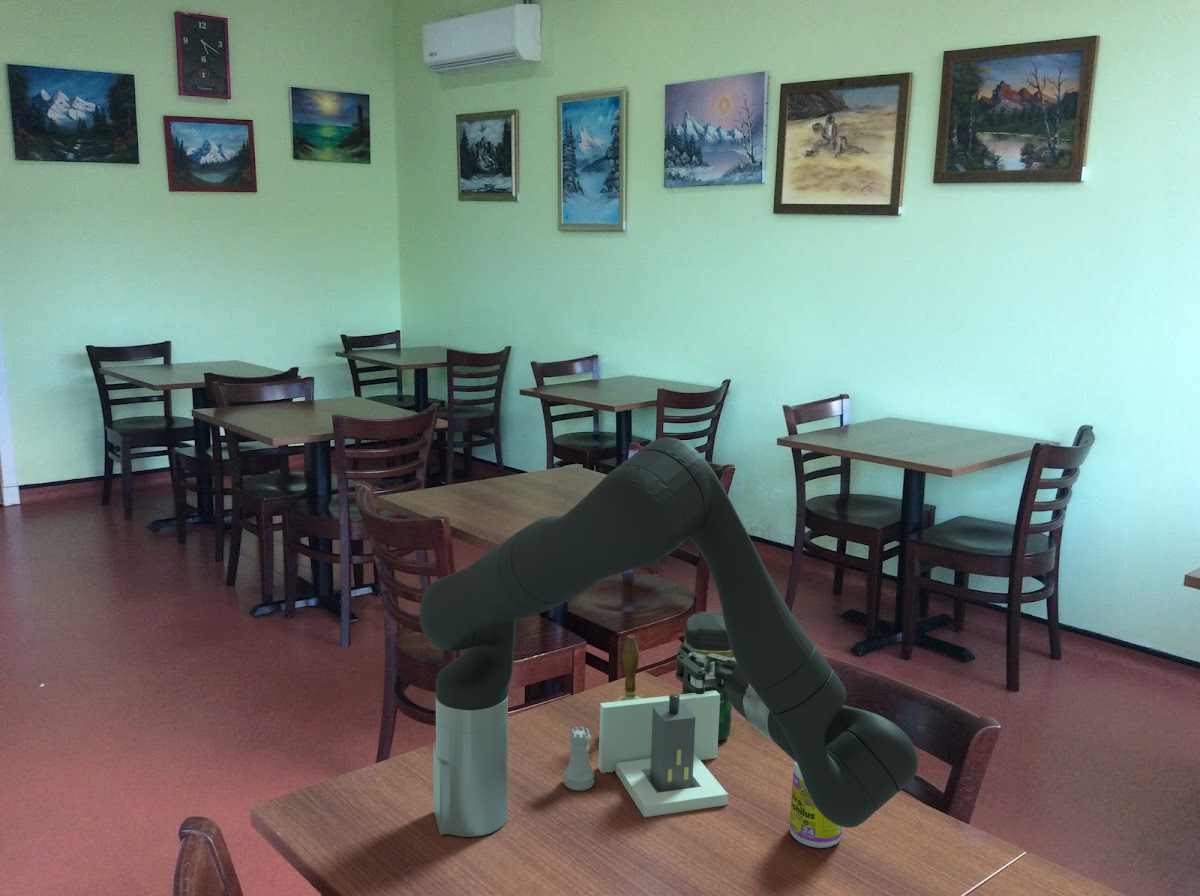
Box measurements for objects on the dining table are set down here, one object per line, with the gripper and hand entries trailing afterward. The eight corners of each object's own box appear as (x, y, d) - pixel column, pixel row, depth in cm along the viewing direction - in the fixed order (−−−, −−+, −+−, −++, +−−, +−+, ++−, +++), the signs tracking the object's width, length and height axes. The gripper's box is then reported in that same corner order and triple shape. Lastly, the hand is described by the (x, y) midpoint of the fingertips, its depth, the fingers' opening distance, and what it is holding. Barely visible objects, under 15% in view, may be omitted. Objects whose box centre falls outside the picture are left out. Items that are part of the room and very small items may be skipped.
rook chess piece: (557, 788, 138) (558, 734, 137) (570, 773, 143) (571, 721, 141) (587, 795, 137) (588, 740, 135) (599, 780, 141) (600, 727, 139)
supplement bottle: (778, 827, 130) (784, 735, 128) (821, 817, 133) (827, 727, 130) (808, 855, 124) (815, 759, 122) (852, 844, 127) (859, 750, 124)
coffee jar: (733, 745, 152) (739, 629, 149) (681, 743, 152) (686, 628, 149) (727, 717, 162) (733, 608, 158) (679, 715, 162) (683, 606, 159)
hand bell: (614, 749, 150) (617, 648, 147) (595, 725, 158) (597, 629, 155) (664, 740, 153) (668, 642, 150) (643, 718, 161) (646, 624, 158)
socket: (629, 819, 131) (632, 748, 129) (598, 767, 144) (600, 703, 142) (754, 800, 136) (758, 732, 135) (712, 753, 150) (715, 690, 148)
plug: (662, 796, 136) (665, 705, 134) (650, 780, 140) (653, 690, 138) (692, 792, 137) (696, 701, 135) (679, 775, 142) (683, 687, 139)
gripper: (836, 662, 109) (768, 615, 125) (718, 671, 105) (662, 622, 120) (831, 726, 110) (763, 673, 126) (714, 739, 106) (658, 681, 121)
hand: (714, 648), depth 123 cm, fingers open, 8 cm apart
